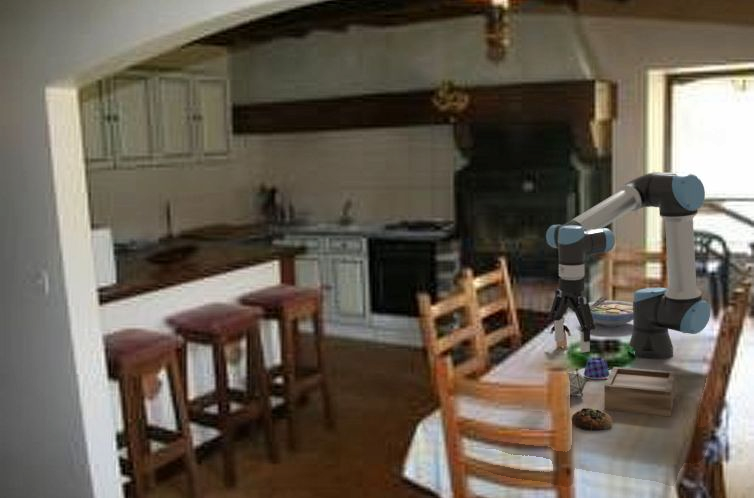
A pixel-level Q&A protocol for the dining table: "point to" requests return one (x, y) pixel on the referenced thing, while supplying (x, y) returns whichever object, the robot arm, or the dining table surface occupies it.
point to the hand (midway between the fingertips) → (571, 346)
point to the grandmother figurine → (564, 342)
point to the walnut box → (640, 391)
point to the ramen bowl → (611, 312)
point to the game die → (576, 382)
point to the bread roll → (591, 419)
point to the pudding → (595, 369)
